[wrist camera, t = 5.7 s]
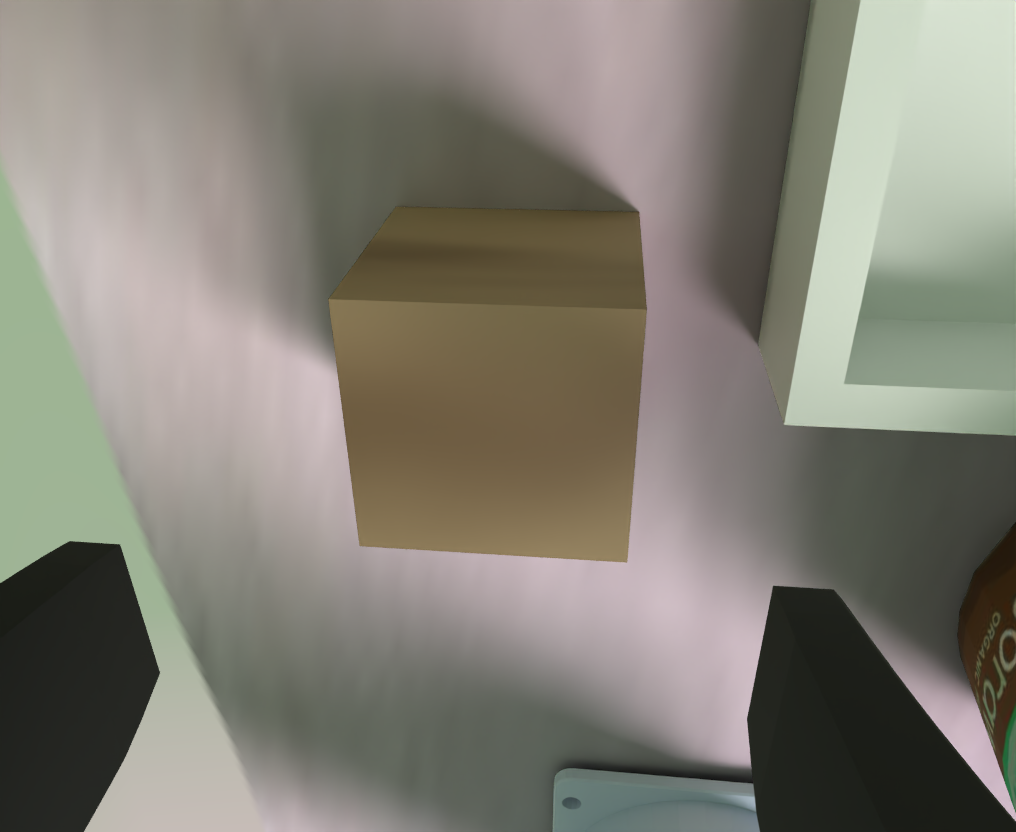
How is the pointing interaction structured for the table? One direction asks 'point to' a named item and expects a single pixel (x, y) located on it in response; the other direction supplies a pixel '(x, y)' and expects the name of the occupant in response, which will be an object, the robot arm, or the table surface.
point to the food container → (994, 650)
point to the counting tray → (898, 222)
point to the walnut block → (494, 380)
